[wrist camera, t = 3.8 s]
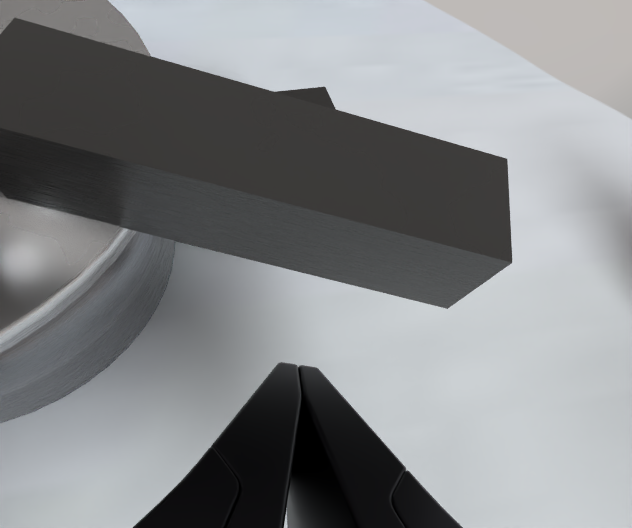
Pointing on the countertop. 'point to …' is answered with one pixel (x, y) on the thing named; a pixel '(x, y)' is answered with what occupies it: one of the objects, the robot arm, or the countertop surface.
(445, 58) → the countertop surface
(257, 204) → the cooker lid
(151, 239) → the cooker pot
